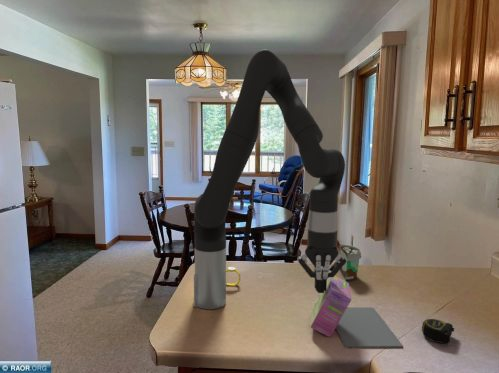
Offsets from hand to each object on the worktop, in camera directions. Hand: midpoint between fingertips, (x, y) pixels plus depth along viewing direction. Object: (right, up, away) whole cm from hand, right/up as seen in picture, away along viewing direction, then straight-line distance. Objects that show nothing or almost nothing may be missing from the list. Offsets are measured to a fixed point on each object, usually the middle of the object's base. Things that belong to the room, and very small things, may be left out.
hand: (320, 291), depth 98 cm
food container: (+18, -5, +37) cm, 41 cm away
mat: (+11, -10, +2) cm, 15 cm away
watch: (-25, -6, +27) cm, 37 cm away
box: (0, -9, +1) cm, 9 cm away
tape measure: (+30, -11, -3) cm, 32 cm away
